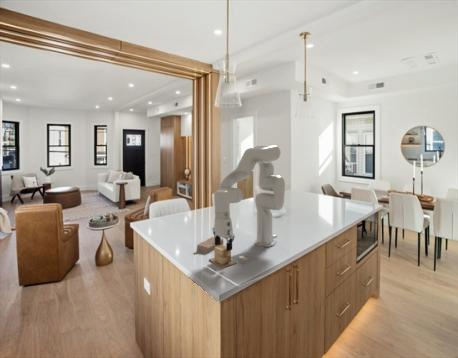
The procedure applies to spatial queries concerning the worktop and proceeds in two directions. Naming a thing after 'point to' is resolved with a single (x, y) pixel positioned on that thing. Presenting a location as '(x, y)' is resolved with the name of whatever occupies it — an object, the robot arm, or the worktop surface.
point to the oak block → (222, 254)
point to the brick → (208, 245)
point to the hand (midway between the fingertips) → (223, 247)
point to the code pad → (243, 258)
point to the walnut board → (224, 263)
